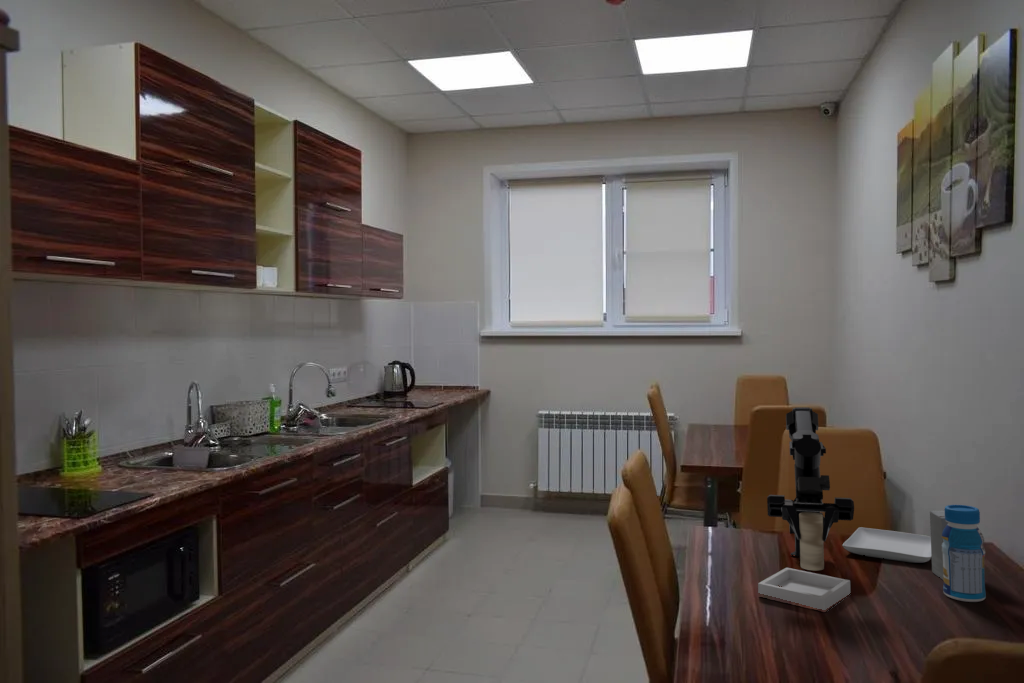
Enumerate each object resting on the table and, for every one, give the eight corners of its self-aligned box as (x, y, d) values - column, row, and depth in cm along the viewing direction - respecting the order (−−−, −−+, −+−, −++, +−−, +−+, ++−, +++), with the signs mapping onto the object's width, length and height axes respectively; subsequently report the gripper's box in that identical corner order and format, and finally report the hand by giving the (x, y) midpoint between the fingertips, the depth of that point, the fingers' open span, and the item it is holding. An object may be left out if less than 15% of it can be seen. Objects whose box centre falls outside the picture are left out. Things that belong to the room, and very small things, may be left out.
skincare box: (965, 572, 180) (963, 508, 180) (981, 582, 173) (979, 515, 173) (929, 572, 181) (927, 508, 181) (943, 582, 174) (941, 515, 174)
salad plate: (931, 569, 184) (930, 556, 184) (841, 556, 197) (840, 544, 197) (942, 549, 201) (942, 536, 201) (859, 538, 214) (858, 526, 214)
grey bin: (786, 580, 178) (786, 567, 178) (850, 594, 168) (850, 580, 168) (758, 597, 168) (758, 583, 168) (824, 613, 157) (824, 598, 157)
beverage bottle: (965, 605, 159) (962, 513, 159) (933, 592, 167) (931, 505, 167) (996, 600, 162) (993, 510, 161) (963, 588, 170) (960, 502, 170)
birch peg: (812, 562, 170) (811, 511, 170) (829, 568, 165) (827, 515, 165) (795, 565, 168) (794, 513, 168) (811, 571, 164) (810, 518, 164)
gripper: (766, 461, 174) (767, 518, 163) (852, 463, 167) (859, 523, 157) (767, 487, 181) (768, 544, 171) (849, 490, 175) (856, 549, 165)
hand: (811, 539), depth 166 cm, fingers closed on birch peg, 5 cm apart
